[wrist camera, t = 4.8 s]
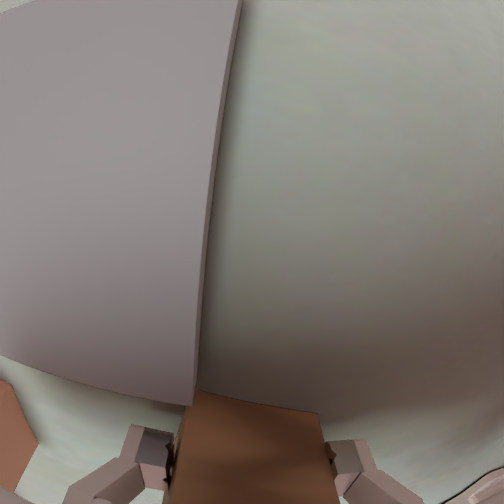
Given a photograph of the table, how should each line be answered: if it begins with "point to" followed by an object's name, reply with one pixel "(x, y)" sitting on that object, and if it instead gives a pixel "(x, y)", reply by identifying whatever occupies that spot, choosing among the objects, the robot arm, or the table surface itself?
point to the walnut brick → (248, 455)
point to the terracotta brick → (13, 439)
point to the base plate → (110, 186)
